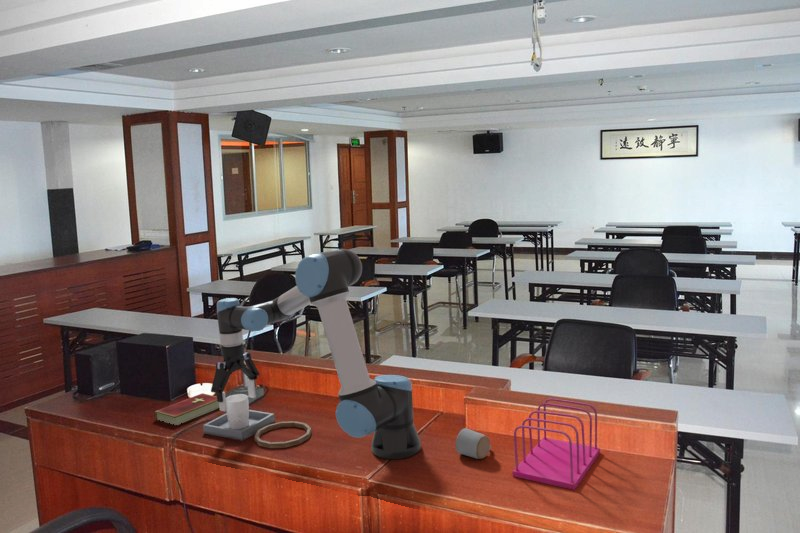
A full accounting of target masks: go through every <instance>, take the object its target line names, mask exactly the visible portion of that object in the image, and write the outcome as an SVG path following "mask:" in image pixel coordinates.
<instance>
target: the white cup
mask: <svg viewBox="0 0 800 533" xmlns="http://www.w3.org/2000/svg"><path fill="white" fill-rule="evenodd" d="M249 404H250V402H249V394H243V393H237V394H236V393H235V394H231V395H229V396H227V397H226V405H227V411H225V412H226V413H227V417H228V422H229V428H231V429H242V428H245V427H247V426H248V425H249V410H250V409H249V408H250V406H249Z"/></svg>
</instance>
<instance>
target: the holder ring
mask: <svg viewBox="0 0 800 533" xmlns="http://www.w3.org/2000/svg"><path fill="white" fill-rule="evenodd" d="M289 427H290V428H291V427H293V428H294V427H295V428H298V429H303V430H305V431H306V433H305V434H303V435H301V436H300V437H298V438H295V439H291V440H286V441H275V442H273V441H272V442H270V441H267V440H264V439H263V440H262V439H261V438H260V437H261V436H262V435H263V434H265V433H267V432H269V431H270V430H275V429H279V428H289ZM311 435H312V428H311V427H310V426H309V424H307V423H305V422H301V421H296V420H295V421H291V420H290V421H279V422H274V423H272V424H270V425H267V426H265V427H263V428H261V429H259V430H258V431H257V433H255V434H254V435H253V436H254V441H255V443H256V442H257V443H256V444H257V445H258V446H259V447H264V448H268V449H282V448H283V449H284V448H289V447H293V446H297V445H300V444H302V443H304V442H305V441H307V440H309V439H310V437H311Z"/></svg>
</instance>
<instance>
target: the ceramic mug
mask: <svg viewBox="0 0 800 533" xmlns="http://www.w3.org/2000/svg"><path fill="white" fill-rule="evenodd" d="M491 449H492V445H491V441H490V439H489V437H488V436H487V435H485V434H483V433H481V432H477V431H476V430H475V431H474V430H472V429H469V428H466V427H465V428H464V427H463V428H462V429H461V430H460V431H459V432H458V434H457V437H456V440H455V450H456V452H457V453H458V454H460V455H464V456H466V457H469V458H473V459H476V460H482V459H485V457H486V458H487V455H488V454H489V453H490V451H491Z"/></svg>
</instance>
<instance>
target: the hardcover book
mask: <svg viewBox="0 0 800 533" xmlns="http://www.w3.org/2000/svg"><path fill="white" fill-rule="evenodd" d="M217 409H220V408H219V402H218V401H217V395H216V396H215V395H211V394H206V393H203V392H202V393H200V394H199V393H198V394H197V395H194V396H192V397H188V398H186V399H184V400H181V401H179V402H175V403H173V404H170V405H168V406H165V407H163V408H161V409H158V410H155V411H154V418H155V421H159V420H160V422H162V421H164V422H163V423H165V424H169V423H170V424H169V425H173V424H174V425H173V426H176V425H177V426H179V425H181V423H182V424H184V423H187V422H188V421H191V420H193V419H195V418H196V419H197V418H198V417H201V416H204V415H206V414H208V413H211V412H213V411H215V410H217Z"/></svg>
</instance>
